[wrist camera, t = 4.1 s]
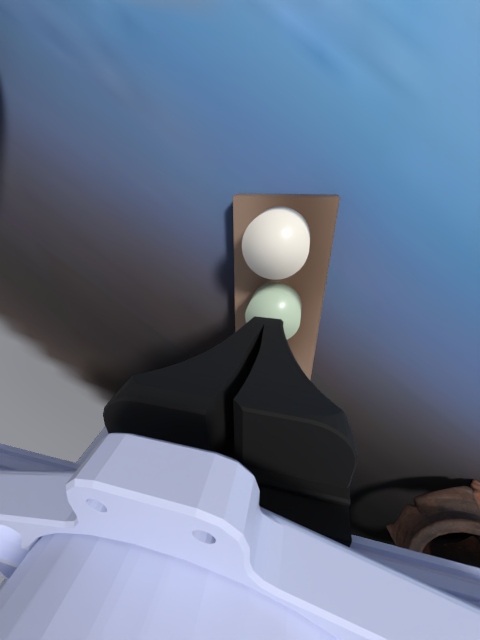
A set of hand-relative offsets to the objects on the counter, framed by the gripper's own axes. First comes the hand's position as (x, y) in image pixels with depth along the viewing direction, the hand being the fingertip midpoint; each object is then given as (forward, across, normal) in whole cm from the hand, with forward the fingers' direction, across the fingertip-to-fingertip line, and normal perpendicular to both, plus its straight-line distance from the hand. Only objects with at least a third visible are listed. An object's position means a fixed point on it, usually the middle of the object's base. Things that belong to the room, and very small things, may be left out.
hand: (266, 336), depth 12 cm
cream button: (+2, 0, -4) cm, 5 cm away
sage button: (+3, 0, 0) cm, 3 cm away
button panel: (+5, 0, 0) cm, 5 cm away
